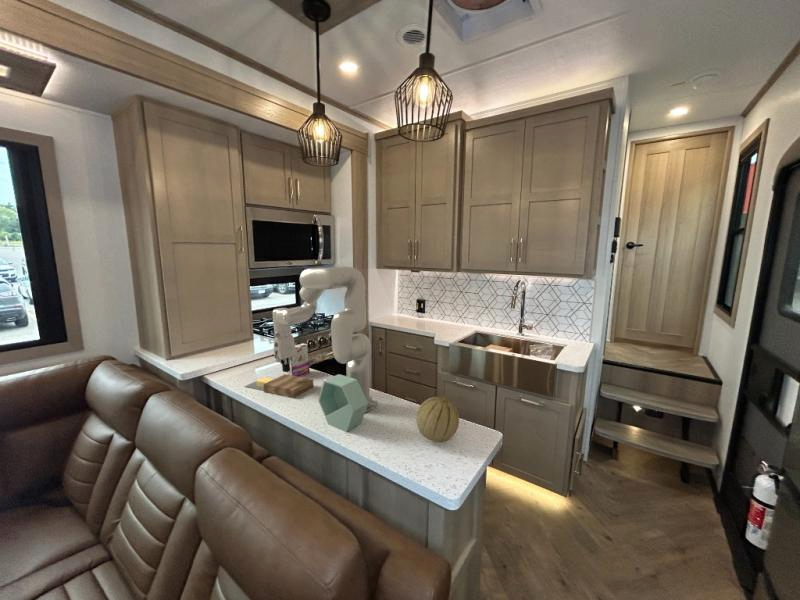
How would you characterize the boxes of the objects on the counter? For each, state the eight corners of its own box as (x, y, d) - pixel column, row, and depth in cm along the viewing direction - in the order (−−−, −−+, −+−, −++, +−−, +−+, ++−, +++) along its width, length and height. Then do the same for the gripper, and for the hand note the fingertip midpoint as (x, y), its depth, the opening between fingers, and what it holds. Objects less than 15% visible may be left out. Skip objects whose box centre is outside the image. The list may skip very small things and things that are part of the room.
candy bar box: (304, 371, 183) (302, 342, 181) (310, 373, 180) (308, 344, 178) (286, 377, 174) (285, 347, 172) (292, 379, 171) (290, 349, 169)
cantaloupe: (407, 438, 115) (407, 398, 113) (434, 423, 125) (434, 385, 123) (441, 456, 104) (441, 412, 102) (467, 438, 114) (467, 397, 112)
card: (279, 384, 164) (278, 379, 164) (270, 388, 159) (269, 383, 158) (265, 381, 168) (265, 376, 168) (256, 385, 162) (256, 380, 162)
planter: (333, 437, 124) (312, 387, 128) (348, 428, 130) (327, 381, 134) (360, 426, 114) (335, 372, 119) (374, 417, 120) (351, 366, 125)
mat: (286, 380, 169) (286, 380, 169) (265, 391, 156) (265, 390, 156) (266, 377, 175) (266, 376, 175) (244, 386, 162) (244, 386, 162)
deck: (313, 386, 161) (313, 379, 160) (293, 398, 148) (293, 390, 148) (285, 381, 168) (284, 374, 167) (264, 392, 155) (263, 384, 155)
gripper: (277, 338, 147) (281, 377, 149) (299, 331, 160) (303, 367, 162) (264, 337, 150) (268, 375, 152) (288, 330, 163) (291, 365, 165)
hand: (286, 371), depth 157 cm, fingers closed
